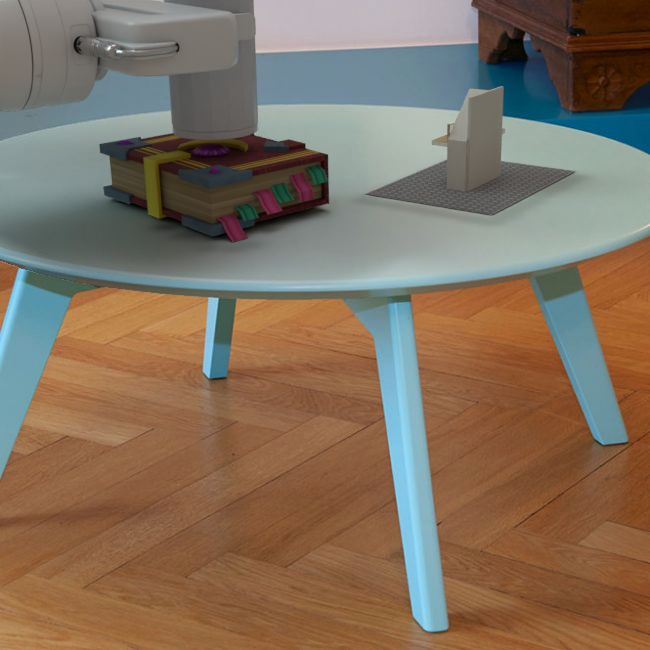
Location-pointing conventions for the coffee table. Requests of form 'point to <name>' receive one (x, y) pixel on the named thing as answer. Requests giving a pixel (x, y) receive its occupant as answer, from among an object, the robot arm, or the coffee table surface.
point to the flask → (217, 90)
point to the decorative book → (217, 179)
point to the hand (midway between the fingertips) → (219, 20)
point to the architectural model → (474, 164)
